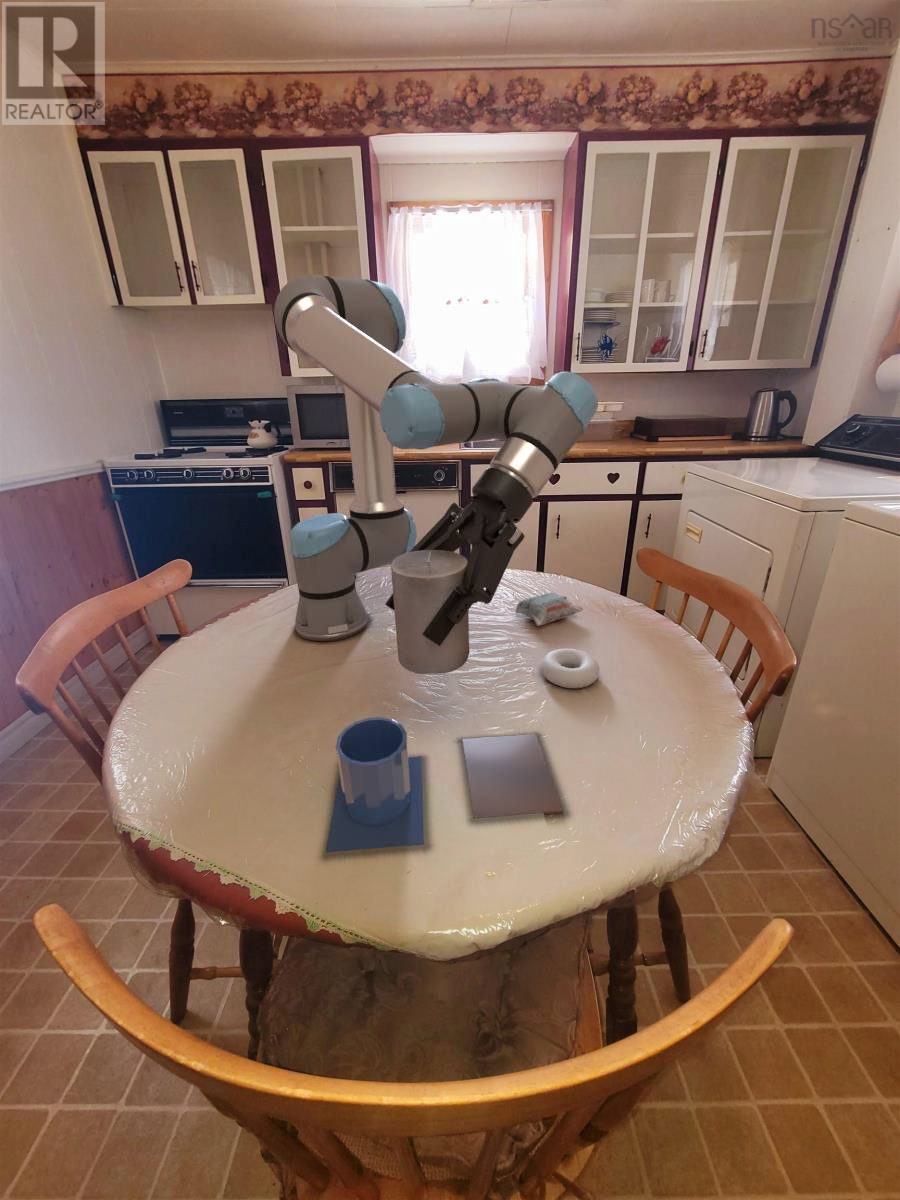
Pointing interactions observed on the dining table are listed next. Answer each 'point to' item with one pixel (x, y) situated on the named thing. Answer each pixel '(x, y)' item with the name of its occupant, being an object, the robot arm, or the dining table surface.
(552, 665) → the donut
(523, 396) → the robot arm
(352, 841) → the blue mat
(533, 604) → the packaged food
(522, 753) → the gray board
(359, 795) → the blue cup
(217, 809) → the dining table surface
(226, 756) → the dining table surface
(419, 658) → the pillar candle
